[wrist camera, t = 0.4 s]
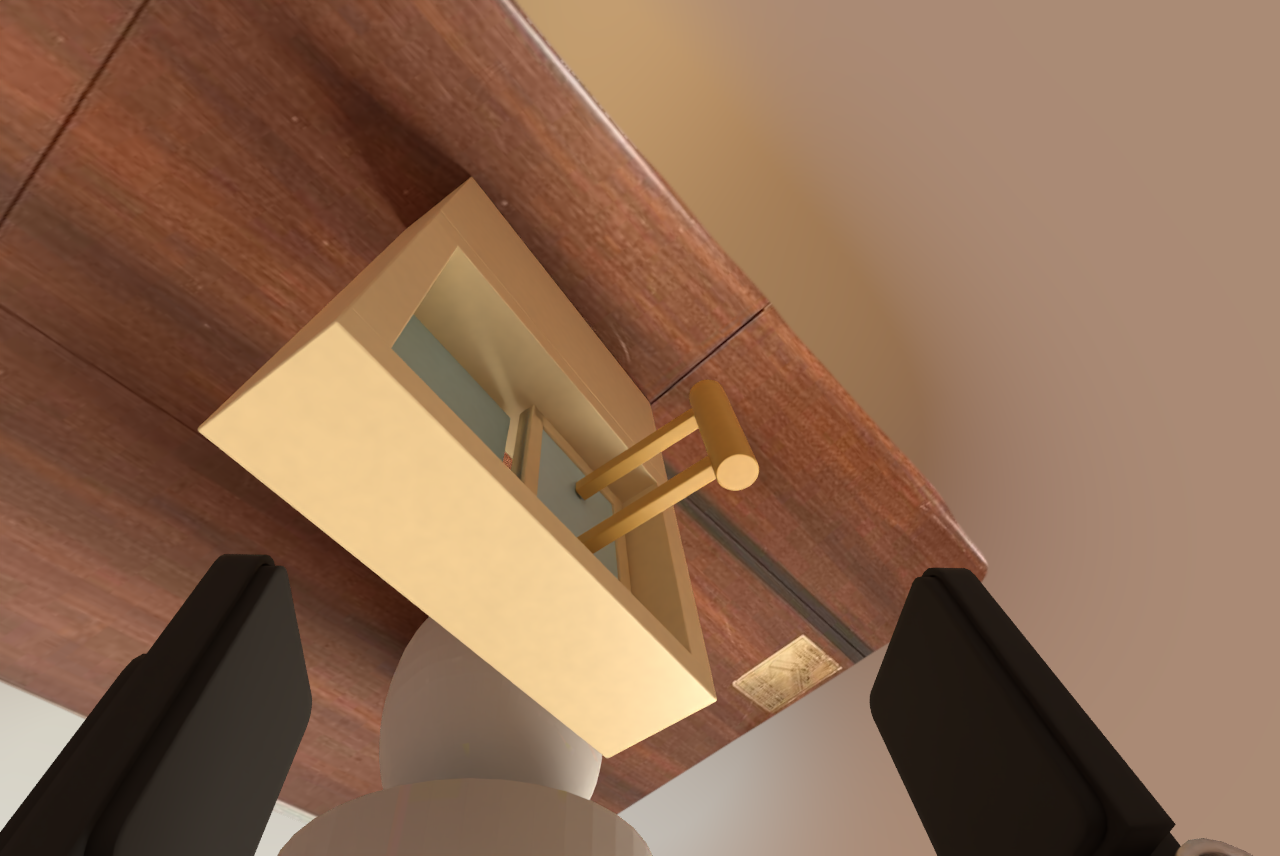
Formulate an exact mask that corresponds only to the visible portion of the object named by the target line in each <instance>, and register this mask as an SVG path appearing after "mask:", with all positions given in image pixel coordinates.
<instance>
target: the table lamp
mask: <svg viewBox="0 0 1280 856" xmlns="http://www.w3.org/2000/svg"><path fill="white" fill-rule="evenodd" d="M601 760H602V754H601V753H599V752H598V751H597V750H596V749H594V748H593V747H592V746H591V745H589V744H588V743H587V742H586V741H584V740H583V739H582V738H581V737H579V736H578V735H577V734H576V733H574V732H573V731H572V730H571V729H569V728H568V727H567V726H566V725H564V724H563V723H562V722H561V721H559V720H558V719H557V718H556V717H554V716H553V715H552V714H551V713H549V712H548V711H547V710H546V709H544V708H543V707H542V706H541V705H539V704H538V703H537V702H536V701H534V700H533V699H532V698H531V697H530V696H528V695H527V694H526V693H525V692H523V691H522V690H521V689H520V688H518V687H517V686H516V685H515V684H513V683H512V682H511V681H510V680H508V679H507V678H506V677H505V676H503V675H502V674H501V673H500V672H498V671H497V670H496V669H495V668H493V667H492V666H491V665H490V664H488V663H487V662H486V661H485V660H483V659H482V658H481V657H480V656H478V655H477V654H476V653H475V652H473V651H472V650H471V649H470V648H468V647H467V646H466V645H465V644H463V643H462V642H461V641H460V640H458V639H457V638H456V637H455V636H453V635H452V634H451V633H450V632H448V631H447V630H446V629H445V628H443V627H442V626H441V625H440V624H438V623H437V622H436V621H435V620H433V619H432V618H431V617H430V616H429V617H428V618H427V619H426V620H425V621H424V623H423V624H422V625H421V626H420V627H419V629H418V630H417V631H416V633H415V634H414V636H413V637H412V639H411V641H410V642H409V644H408V645H407V647H406V649H405V651H404V653H403V655H402V657H401V659H400V661H399V664H398V666H397V669H396V671H395V673H394V676H393V678H392V681H391V684H390V687H389V691H388V694H387V698H386V701H385V705H384V710H383V714H382V721H381V729H380V742H379V762H380V773H381V780H382V786H383V790H381V791H377V792H374V793H370V794H367V795H364V796H361V797H359V798H356V799H354V800H351V801H349V802H346V803H343V804H341V805H339V806H337V807H335V808H333V809H331V810H329V811H328V812H326V813H324V814H322V815H320V816H318V817H317V818H315V819H313V820H312V821H311V822H309V823H308V824H307V825H306V826H304V827H303V828H302V829H300V830H299V831H298V832H297V833H295V834H294V835H293V836H292V838H291V839H290V840H289V841H288V842H287V843H286V844H285V846H284V847H283V848H282V849H281V850H280V852H279V854H278V856H652V854H651V852H650V850H649V848H648V846H647V844H646V842H645V841H644V840H643V838H642V837H641V836H640V835H639V834H638V833H637V832H636V830H635V829H634V828H633V827H632V826H631V825H629V824H628V823H627V822H626V821H624V820H623V819H622V818H620V817H619V816H618V815H617V814H615V813H613V812H612V811H610V810H608V809H606V808H604V807H602V806H601V805H599V804H597V803H595V802H593V801H590V798H591V796H592V794H593V791H594V788H595V786H596V783H597V779H598V775H599V771H600V766H601Z"/></svg>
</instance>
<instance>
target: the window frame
mask: <svg viewBox="0 0 1280 856" xmlns="http://www.w3.org/2000/svg"><path fill="white" fill-rule="evenodd" d="M532 405H535V406H536V407H537V409H538V410H539V411H540V412H541V413H542V414H543V415H544V417H545V418H546V419H547V420H548V421H549V422H550V423H551V424H552V425H553V427H554V428H555V429H556V430H557V431H558V432H559V433H560V434H561V435H562V437H563V438H564V439H565V440H566V441H567V442H568V443H569V444H570V445H571V447H572V448H573V449H574V450H575V451H576V452H577V453H578V454H579V456H580V457H581V458H582V459H583V460H584V461H585V462H586V463H587V464H588V466H589V467H590V468H591V469H592V470H593V471H595V470H596V469H598V468H599V467H601V466H602V465H604V464H605V463H607V462H609V461H610V460H612V459H613V458H615V457H616V456H618V455H619V454H621V453H622V452H624V451H626V450H627V449H629V448H630V447H632V446H633V445H635V444H636V443H638V442H640V441H641V440H643V439H644V438H646V437H647V436H649V435H650V434H652V433H653V432H655V431H656V427H655V423H654V418H653V414H652V410H651V405H650V403H649V401H648V400H647V399H646V397H645V396H644V395H643V394H642V392H641V391H640V390H639V389H638V387H637V386H636V385H635V383H634V382H633V381H632V380H631V378H630V377H629V376H628V375H627V373H626V372H625V371H624V369H623V368H622V367H621V366H620V364H619V363H618V362H617V361H616V359H615V358H614V357H613V355H612V354H611V353H610V352H609V350H608V349H607V348H606V347H605V345H604V344H603V343H602V341H601V340H600V339H599V338H598V336H597V335H596V334H595V333H594V331H593V330H592V329H591V327H590V326H589V325H588V324H587V322H586V321H585V320H584V319H583V317H582V316H581V315H580V313H579V312H578V311H577V310H576V308H575V307H574V306H573V305H572V303H571V302H570V301H569V299H568V298H567V297H566V296H565V294H564V293H563V292H562V291H561V289H560V288H559V287H558V285H557V284H556V283H555V282H554V280H553V279H552V278H551V277H550V275H549V274H548V273H547V271H546V270H545V269H544V268H543V266H542V265H541V264H540V263H539V261H538V260H537V259H536V257H535V256H534V255H533V254H532V252H531V251H530V250H529V249H528V247H527V246H526V245H525V243H524V242H523V241H522V240H521V238H520V237H519V236H518V235H517V233H516V232H515V231H514V229H513V228H512V227H511V226H510V224H509V223H508V222H507V220H506V219H505V218H504V217H503V215H502V214H501V213H500V212H499V210H498V209H497V208H496V206H495V205H494V204H493V203H492V201H491V200H490V199H489V198H488V196H487V195H486V194H485V192H484V191H483V190H482V189H481V187H480V186H479V185H478V184H477V182H476V181H475V180H474V178H473V177H470V178H469V179H468V180H466V181H465V182H464V183H463V184H461V185H460V186H459V187H458V188H457V189H455V190H454V191H453V192H452V193H450V194H449V195H448V196H447V197H445V198H444V199H443V200H442V201H440V202H439V203H438V204H437V205H435V206H434V207H433V208H432V209H430V210H429V211H428V212H427V213H425V214H424V215H423V216H422V217H420V218H419V219H418V220H417V221H415V222H414V223H413V224H412V225H411V226H409V227H408V228H407V229H406V230H405V231H404V232H403V233H401V234H400V235H399V236H398V237H397V238H396V239H395V240H394V241H393V242H392V243H391V244H390V245H389V246H388V247H387V248H386V249H385V250H384V251H383V252H382V253H381V254H379V255H378V256H377V257H376V258H375V259H374V260H373V261H372V262H371V263H370V264H369V265H368V266H367V267H366V268H365V269H364V270H363V271H362V272H361V273H360V274H358V275H357V276H356V277H355V278H354V279H353V280H352V281H351V282H350V283H349V284H348V285H347V286H346V287H345V288H344V289H343V290H342V291H341V292H340V293H339V294H338V295H337V296H336V297H334V298H333V299H332V300H331V301H330V302H329V303H328V304H327V305H326V306H325V307H324V308H323V309H322V310H321V311H320V312H319V313H318V314H317V315H316V316H315V317H314V318H312V319H311V320H310V321H309V322H308V323H307V324H306V325H305V326H304V327H303V328H302V329H301V330H300V331H299V332H298V333H297V334H296V335H295V336H294V337H293V338H291V339H290V340H289V341H288V342H287V343H286V344H285V345H284V346H283V347H282V348H281V349H280V350H279V351H278V352H277V353H276V354H275V355H274V356H273V357H272V358H271V359H269V360H268V361H267V362H266V363H265V364H264V365H263V366H262V367H261V368H260V369H259V370H258V371H257V372H256V373H255V374H254V375H253V376H252V377H251V378H250V379H249V380H247V381H246V382H245V383H244V384H243V385H242V386H241V387H240V388H239V389H238V390H237V391H236V392H235V393H234V394H233V395H232V396H231V397H230V398H229V399H228V400H226V401H225V402H224V403H223V404H222V405H221V406H220V407H219V408H218V409H217V410H216V411H215V412H214V413H213V414H212V415H211V416H210V417H209V418H208V419H207V420H205V421H204V422H203V423H202V424H201V425H200V426H199V427H198V431H199V432H200V433H201V434H202V435H204V436H205V437H206V438H207V439H209V440H210V441H211V442H212V443H214V444H215V445H216V446H217V447H219V448H220V449H221V450H222V451H224V452H225V453H226V454H227V455H229V456H230V457H231V458H232V459H233V460H235V461H236V462H237V463H238V464H240V465H241V466H242V467H243V468H245V469H246V470H247V471H248V472H250V473H251V474H252V475H253V476H255V477H256V478H257V479H258V480H260V481H261V482H262V483H263V484H265V485H266V486H267V487H268V488H270V489H271V490H272V491H273V492H275V493H276V494H277V495H278V496H280V497H281V498H282V499H283V500H285V501H286V502H287V503H288V504H290V505H291V506H292V507H293V508H295V509H296V510H297V511H298V512H300V513H301V514H302V515H303V516H305V517H306V518H307V519H308V520H310V521H311V522H312V523H313V524H315V525H316V526H317V527H318V528H320V529H321V530H322V531H323V532H325V533H326V534H327V535H328V536H330V537H331V538H332V539H333V540H335V541H336V542H337V543H338V544H340V545H341V546H342V547H343V548H345V549H346V550H347V551H348V552H350V553H351V554H352V555H353V556H355V557H356V558H357V559H358V560H360V561H361V562H362V563H363V564H365V565H366V566H367V567H368V568H370V569H371V570H372V571H373V572H375V573H376V574H377V575H378V576H380V577H381V578H382V579H383V580H385V581H386V582H387V583H388V584H390V585H391V586H392V587H393V588H395V589H396V590H397V591H398V592H400V593H401V594H402V595H403V596H405V597H406V598H407V599H408V600H410V601H411V602H412V603H413V604H415V605H416V606H417V607H418V608H420V609H421V610H422V611H423V612H425V613H426V614H427V615H428V616H430V617H431V618H432V619H433V620H435V621H436V622H437V623H438V624H440V625H441V626H442V627H443V628H445V629H446V630H447V631H448V632H450V633H451V634H452V635H453V636H455V637H456V638H457V639H458V640H460V641H461V642H462V643H463V644H465V645H466V646H467V647H468V648H470V649H471V650H472V651H473V652H475V653H476V654H477V655H478V656H480V657H481V658H482V659H483V660H485V661H486V662H487V663H488V664H490V665H491V666H492V667H493V668H495V669H496V670H497V671H498V672H500V673H501V674H502V675H503V676H505V677H506V678H507V679H508V680H510V681H511V682H512V683H513V684H515V685H516V686H517V687H518V688H520V689H521V690H522V691H523V692H525V693H526V694H527V695H528V696H530V697H531V698H532V699H533V700H534V701H536V702H537V703H538V704H539V705H541V706H542V707H543V708H544V709H546V710H547V711H548V712H549V713H551V714H552V715H553V716H554V717H556V718H557V719H558V720H559V721H561V722H562V723H563V724H564V725H566V726H567V727H568V728H569V729H571V730H572V731H573V732H574V733H576V734H577V735H578V736H579V737H581V738H582V739H583V740H584V741H586V742H587V743H588V744H589V745H591V746H592V747H593V748H594V749H596V750H597V751H598V752H599V753H601V754H602V755H603V756H604V757H606V758H609V757H611V756H613V755H615V754H617V753H619V752H621V751H623V750H625V749H626V748H628V747H630V746H632V745H634V744H636V743H638V742H640V741H642V740H644V739H645V738H647V737H649V736H651V735H653V734H655V733H657V732H659V731H661V730H663V729H664V728H666V727H668V726H670V725H672V724H674V723H676V722H678V721H680V720H682V719H683V718H685V717H687V716H689V715H691V714H693V713H695V712H697V711H699V710H701V709H702V708H704V707H706V706H708V705H710V704H712V703H714V702H716V701H717V697H716V693H715V688H714V684H713V679H712V674H711V670H710V665H709V661H708V656H707V652H706V648H705V643H704V639H703V634H702V630H701V626H700V621H699V617H698V612H697V608H696V604H695V599H694V595H693V590H692V586H691V581H690V577H689V573H688V568H687V564H686V559H685V555H684V551H683V546H682V542H681V537H680V533H679V529H678V524H677V520H676V515H675V511H674V507H673V505H672V506H670V507H669V508H667V509H666V510H664V511H662V512H661V513H659V514H657V515H656V516H654V517H652V518H651V519H649V520H648V521H646V522H644V523H643V524H641V525H639V526H638V527H636V528H635V529H633V530H631V531H630V532H628V533H626V534H625V538H626V548H627V557H628V566H629V575H630V584H631V592H630V591H629V590H628V589H627V588H626V587H625V586H624V585H623V584H622V583H621V582H620V581H619V580H618V579H617V578H616V577H615V576H614V575H613V574H612V573H611V572H610V571H609V570H608V569H607V568H606V567H605V566H604V565H603V564H602V563H601V562H600V561H599V560H598V559H597V558H596V557H595V556H594V555H593V554H592V553H591V552H590V551H589V550H588V549H587V547H586V546H585V545H584V544H583V543H582V542H581V541H580V540H579V539H578V538H577V537H576V536H575V535H574V534H573V533H572V532H571V531H570V530H569V529H568V528H567V527H566V526H565V525H564V524H563V523H562V522H561V521H560V520H559V519H558V518H557V517H556V516H555V515H554V514H553V513H552V512H551V511H550V510H549V509H548V508H547V507H546V506H545V505H544V504H543V503H542V502H541V501H540V500H539V499H538V498H537V497H536V495H535V494H534V493H533V492H532V491H531V490H530V489H529V488H528V487H527V486H526V485H525V484H524V483H523V482H522V481H521V480H520V479H519V478H518V477H517V476H516V475H515V474H514V473H513V472H512V471H511V470H510V469H509V468H508V467H507V466H506V465H505V464H504V463H503V457H504V452H506V453H507V454H508V455H509V456H510V457H511V458H512V459H513V454H514V448H515V441H516V435H517V429H518V422H519V416H520V414H521V413H522V412H524V411H525V410H526V409H528V408H529V407H531V406H532ZM667 481H668V480H667V476H666V471H665V467H664V462H663V458H662V454H661V452H660V453H659V454H657V455H655V456H654V457H652V458H651V459H649V460H648V461H646V462H644V463H643V464H641V465H640V466H638V467H637V468H635V469H633V470H632V471H630V472H629V473H627V474H626V475H624V476H622V477H621V478H619V479H618V480H616V481H615V482H613V483H611V484H610V485H608V486H607V487H608V488H609V489H610V490H611V491H612V492H613V493H614V494H615V495H616V497H617V498H618V499H619V500H620V501H621V502H622V509H623V508H625V507H626V506H628V505H630V504H631V503H633V502H634V501H636V500H638V499H639V498H641V497H643V496H644V495H646V494H647V493H649V492H651V491H652V490H654V489H655V488H657V487H659V486H660V485H662V484H663V483H665V482H667Z"/></svg>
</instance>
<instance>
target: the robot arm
mask: <svg viewBox="0 0 1280 856" xmlns="http://www.w3.org/2000/svg"><path fill="white" fill-rule="evenodd" d="M311 708H312V695H311V690H310V685H309V680H308V675H307V670H306V665H305V660H304V655H303V650H302V645H301V639H300V634H299V629H298V624H297V619H296V614H295V609H294V604H293V599H292V594H291V589H290V584H289V579H288V574H287V571H286V569H285V567H284V566H275V564H274V561H273V559H272V558H271V557H270V556H268V555H243V554H224V555H222V556H220V557H219V558H218V559H217V560H216V561H215V562H214V563H213V565H212V566H211V567H210V569H209V570H208V571H207V573H206V574H205V575H204V577H203V578H202V579H201V581H200V582H199V584H198V585H197V586H196V588H195V589H194V590H193V592H192V593H191V594H190V596H189V597H188V598H187V600H186V601H185V603H184V604H183V605H182V607H181V608H180V609H179V611H178V612H177V613H176V615H175V616H174V617H173V619H172V620H171V621H170V623H169V624H168V626H167V627H166V628H165V630H164V631H163V632H162V634H161V635H160V636H159V638H158V639H157V640H156V642H155V643H154V645H153V646H152V647H151V649H150V650H149V651H148V653H147V654H142V655H140V656H138V657H137V658H135V659H133V660H132V661H131V662H130V663H129V664H128V665H127V666H126V668H125V669H124V670H123V671H122V672H121V673H120V675H119V676H118V677H117V679H116V680H115V681H114V683H113V684H112V685H111V687H110V688H109V689H108V691H107V692H106V693H105V695H104V696H103V697H102V699H101V700H100V701H99V703H98V704H97V705H96V706H95V708H94V709H93V710H92V712H91V713H90V714H89V716H88V717H87V718H86V720H85V721H84V722H83V724H82V725H81V726H80V728H79V729H78V730H77V732H76V733H75V734H74V736H73V737H72V738H71V740H70V741H69V742H68V743H67V745H66V746H65V747H64V749H63V750H62V751H61V753H60V754H59V755H58V757H57V758H56V759H55V761H54V762H53V763H52V765H51V766H50V767H49V769H48V770H47V771H46V773H45V774H44V775H43V777H42V778H41V779H40V781H39V782H38V783H37V784H36V786H35V787H34V788H33V790H32V791H31V792H30V794H29V795H28V796H27V798H26V799H25V800H24V802H23V803H22V804H21V806H20V807H19V808H18V810H17V811H16V812H15V814H14V815H13V816H12V817H11V819H10V820H9V821H8V823H7V824H6V825H5V827H4V828H3V829H2V831H1V832H0V856H254V854H255V852H256V849H257V847H258V844H259V842H260V840H261V837H262V835H263V832H264V830H265V827H266V825H267V822H268V820H269V817H270V815H271V813H272V810H273V808H274V805H275V803H276V801H277V798H278V796H279V793H280V791H281V788H282V786H283V783H284V781H285V779H286V776H287V774H288V771H289V769H290V766H291V764H292V761H293V759H294V757H295V754H296V752H297V749H298V747H299V744H300V742H301V739H302V737H303V735H304V732H305V730H306V727H307V725H308V722H309V718H310V714H311ZM870 709H871V713H872V716H873V719H874V721H875V723H876V725H877V727H878V729H879V732H880V734H881V736H882V738H883V740H884V742H885V744H886V746H887V749H888V751H889V753H890V755H891V757H892V759H893V762H894V764H895V766H896V768H897V770H898V772H899V774H900V776H901V779H902V781H903V783H904V785H905V787H906V789H907V791H908V793H909V796H910V798H911V800H912V802H913V804H914V806H915V808H916V811H917V813H918V815H919V817H920V819H921V821H922V823H923V826H924V828H925V830H926V832H927V834H928V836H929V838H930V841H931V843H932V845H933V847H934V849H935V851H936V854H937V856H1253V855H1251V854H1249V853H1247V852H1246V851H1244V850H1241V849H1238V848H1236V847H1234V846H1232V845H1229V844H1227V843H1224V842H1221V841H1216V840H1210V839H1204V838H1201V839H1194V840H1188V841H1187V842H1186V843H1184V844H1183V845H1182V846H1180V845H1179V843H1178V842H1177V841H1176V839H1175V838H1174V837H1173V836H1172V834H1171V833H1170V831H1171V830H1172V828H1173V827H1174V826H1175V823H1174V822H1173V821H1172V819H1171V818H1170V817H1169V816H1168V814H1167V813H1166V812H1165V811H1164V809H1163V808H1162V807H1161V806H1160V804H1159V803H1158V802H1157V801H1156V800H1155V798H1154V797H1153V796H1152V795H1151V793H1150V792H1149V791H1148V790H1147V788H1146V787H1145V786H1144V785H1143V783H1142V782H1141V781H1140V780H1139V778H1138V777H1137V776H1136V775H1135V773H1134V772H1133V771H1132V770H1131V768H1130V767H1129V766H1128V765H1127V763H1126V762H1125V761H1124V760H1123V759H1122V757H1121V756H1120V755H1119V753H1118V752H1117V751H1116V750H1115V749H1114V747H1113V746H1112V745H1111V744H1110V742H1109V741H1108V740H1107V739H1106V737H1105V736H1104V735H1103V734H1102V732H1101V731H1100V730H1099V729H1098V727H1097V726H1096V725H1095V724H1094V722H1093V721H1092V720H1091V719H1090V718H1089V716H1088V715H1087V714H1086V713H1085V711H1084V710H1083V709H1082V708H1081V706H1080V705H1079V704H1078V703H1077V701H1076V700H1075V699H1074V698H1073V696H1072V695H1071V694H1070V693H1069V691H1068V690H1067V689H1066V688H1065V687H1064V685H1063V684H1062V683H1061V682H1060V680H1059V679H1058V678H1057V677H1056V675H1055V674H1054V673H1053V672H1052V670H1051V669H1050V668H1049V667H1048V665H1047V664H1046V663H1045V662H1044V660H1043V659H1042V658H1041V657H1040V655H1039V654H1038V653H1037V652H1036V650H1035V649H1034V648H1033V647H1032V646H1031V644H1030V643H1029V642H1028V641H1027V640H1026V638H1025V637H1024V636H1023V634H1022V633H1021V632H1020V631H1019V629H1018V628H1017V627H1016V626H1015V624H1014V623H1013V622H1012V621H1011V619H1010V618H1009V617H1008V616H1007V614H1006V613H1005V612H1004V611H1003V609H1002V608H1001V607H1000V606H999V605H998V603H997V602H996V601H995V600H994V598H993V597H992V596H991V595H990V593H989V592H988V591H987V590H986V588H985V587H984V586H983V585H982V583H981V582H980V581H979V580H978V578H977V577H976V576H975V575H974V574H973V573H972V572H971V571H970V570H968V569H965V568H928V569H927V570H926V571H925V572H924V573H923V575H922V577H917V578H916V579H915V580H914V582H913V583H912V586H911V589H910V591H909V594H908V596H907V599H906V602H905V604H904V607H903V609H902V612H901V615H900V617H899V620H898V622H897V625H896V628H895V630H894V633H893V636H892V638H891V641H890V643H889V646H888V649H887V652H886V654H885V656H884V659H883V662H882V664H881V667H880V669H879V672H878V675H877V677H876V680H875V683H874V685H873V688H872V690H871V694H870Z"/></svg>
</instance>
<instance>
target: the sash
mask: <svg viewBox="0 0 1280 856" xmlns="http://www.w3.org/2000/svg"><path fill="white" fill-rule="evenodd" d="M689 401H690V404H691V407H692V408H691V409H689V410H688V411H686V412H684V413H683V414H681V415H680V416H678V417H677V418H675V419H674V420H672V421H671V422H669V423H667V424H666V425H664V426H663V427H661V428H660V429H658V430H657V431H655V432H653V433H652V434H650V435H649V436H647V437H646V438H644V439H643V440H641V441H640V442H638V443H636V444H635V445H633V446H632V447H630V448H629V449H627V450H626V451H624V452H622V453H621V454H619V455H618V456H616V457H615V458H613V459H612V460H610V461H609V462H607V463H605V464H604V465H602V466H601V467H599V468H598V469H596V470H595V471H593V470H592V469H591V468H590V467H589V466H588V464H587V463H586V462H585V461H584V460H583V459H582V458H581V457H580V456H579V454H578V453H577V452H576V451H575V450H574V449H573V448H572V447H571V445H570V444H569V443H568V442H567V441H566V440H565V439H564V438H563V437H562V435H561V434H560V433H559V432H558V431H557V430H556V429H555V428H554V427H553V425H552V424H551V423H550V422H549V421H548V420H547V419H546V418H545V417H544V415H543V414H542V413H541V412H540V411H539V410H538V409H537V407H536V406H535V405H532V406H531V407H529V408H528V409H526V410H525V411H524V412H522V413H521V414H520V416H519V422H518V429H517V435H516V441H515V448H514V454H513V460H512V467H511V471H512V472H513V473H514V474H515V475H516V476H517V477H518V478H519V479H520V480H521V481H522V482H523V483H524V484H525V485H526V486H527V487H528V488H529V489H530V490H531V491H532V492H533V493H534V494H535V495H536V497H537V498H538V499H539V500H540V501H541V502H542V503H543V504H544V505H545V506H546V507H547V508H548V509H549V510H550V511H551V512H552V513H553V514H554V515H555V516H556V517H557V518H558V519H559V520H560V521H561V522H562V523H563V524H564V525H565V526H566V527H567V528H568V529H569V530H570V531H571V532H572V533H573V534H574V535H575V536H576V537H577V538H578V539H579V540H580V541H581V542H582V543H583V544H584V545H585V546H586V547H587V549H588V550H589V551H590V552H591V553H592V554H593V555H594V556H595V557H596V558H597V559H598V560H599V561H600V562H601V563H602V564H603V565H604V566H605V567H606V568H607V569H608V570H609V571H610V572H611V573H612V574H613V575H614V576H615V577H616V578H617V579H618V580H619V581H620V582H621V583H622V584H623V585H624V586H625V587H626V588H627V589H628V590H629V591H630V592H631V584H630V575H629V566H628V557H627V548H626V538H625V534H626V533H628V532H630V531H631V530H633V529H635V528H636V527H638V526H639V525H641V524H643V523H644V522H646V521H648V520H649V519H651V518H652V517H654V516H656V515H657V514H659V513H661V512H662V511H664V510H666V509H667V508H669V507H670V506H672V505H674V504H675V503H677V502H679V501H680V500H682V499H684V498H685V497H687V496H688V495H690V494H692V493H693V492H695V491H697V490H698V489H700V488H702V487H703V486H705V485H706V484H708V483H710V482H711V481H713V480H715V479H717V481H718V483H719V484H720V485H721V486H722V487H724V488H726V489H728V490H741V489H744V488H747V487H748V486H750V485H751V484H752V483H753V482H754V481H755V480H756V478H757V476H758V473H759V465H758V463H757V460H756V458H755V456H754V454H753V452H752V450H751V448H750V445H749V443H748V441H747V439H746V437H745V435H744V433H743V430H742V428H741V426H740V424H739V422H738V420H737V418H736V415H735V413H734V411H733V409H732V407H731V405H730V402H729V400H728V398H727V396H726V394H725V392H724V390H723V388H722V386H721V385H720V384H719V383H718V382H716V381H714V380H702V381H700V382H698V383H696V384H695V385H694V386H693V387H692V389H691V390H690V393H689ZM698 428H699V430H700V433H701V436H702V439H703V442H704V445H705V448H706V451H707V453H708V456H707V457H705V458H704V459H702V460H700V461H699V462H697V463H695V464H694V465H692V466H691V467H689V468H687V469H686V470H684V471H683V472H681V473H679V474H678V475H676V476H675V477H673V478H671V479H670V480H668V481H667V482H665V483H663V484H662V485H660V486H659V487H657V488H655V489H654V490H652V491H651V492H649V493H647V494H646V495H644V496H643V497H641V498H639V499H638V500H636V501H634V502H633V503H631V504H630V505H628V506H626V507H625V508H623V509H622V502H621V501H620V500H619V499H618V498H617V497H616V495H615V494H614V493H613V492H612V491H611V490H610V489H609V488H608V487H607V486H608V485H610V484H611V483H613V482H615V481H616V480H618V479H619V478H621V477H622V476H624V475H626V474H627V473H629V472H630V471H632V470H633V469H635V468H637V467H638V466H640V465H641V464H643V463H644V462H646V461H648V460H649V459H651V458H652V457H654V456H655V455H657V454H659V453H660V452H662V451H663V450H665V449H666V448H668V447H670V446H671V445H673V444H674V443H676V442H678V441H679V440H681V439H682V438H684V437H685V436H687V435H689V434H690V433H692V432H693V431H695V430H696V429H698Z"/></svg>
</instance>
